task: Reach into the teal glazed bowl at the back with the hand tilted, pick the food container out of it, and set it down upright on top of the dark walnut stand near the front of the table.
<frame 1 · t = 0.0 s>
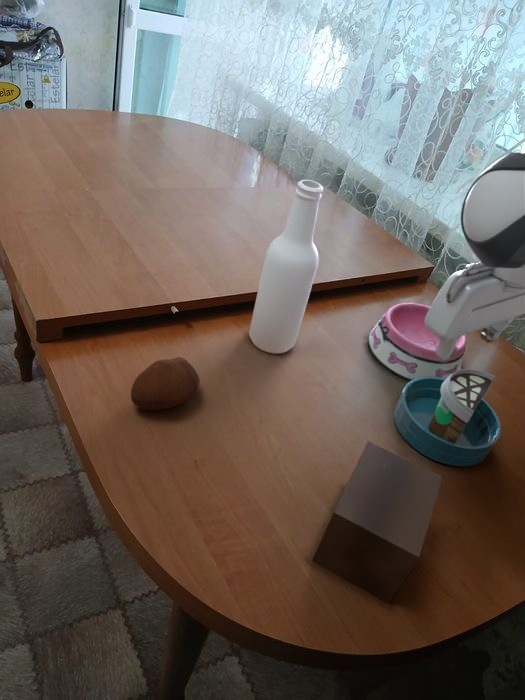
hand: (466, 347, 71), 21 cm above the table, tool pointing down, fingers open, 8 cm apart
stand: (365, 540, 70), on the table
food container: (440, 428, 90), resting on teal bowl
potato: (166, 402, 83), on the table
dog bowl: (413, 354, 106), on the table
alcohol: (271, 340, 100), on the table
teal bowl: (440, 429, 90), on the table
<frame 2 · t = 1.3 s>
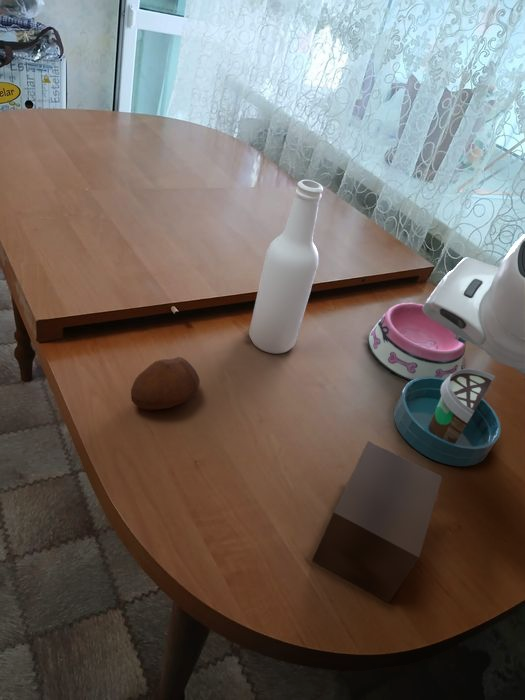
hand: (497, 356, 67), 23 cm above the table, tool tilted 45°, fingers open, 8 cm apart
nothing on the table moved.
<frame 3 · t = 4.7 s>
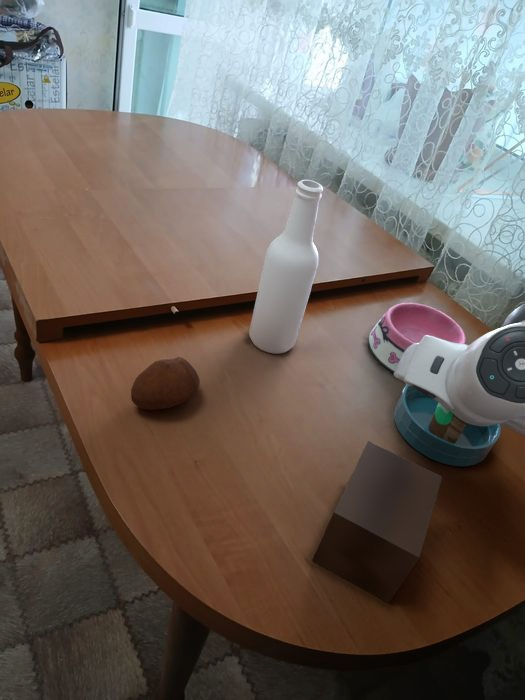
hand: (462, 400, 77), 12 cm above the table, tool tilted 45°, fingers open, 8 cm apart
nothing on the table moved.
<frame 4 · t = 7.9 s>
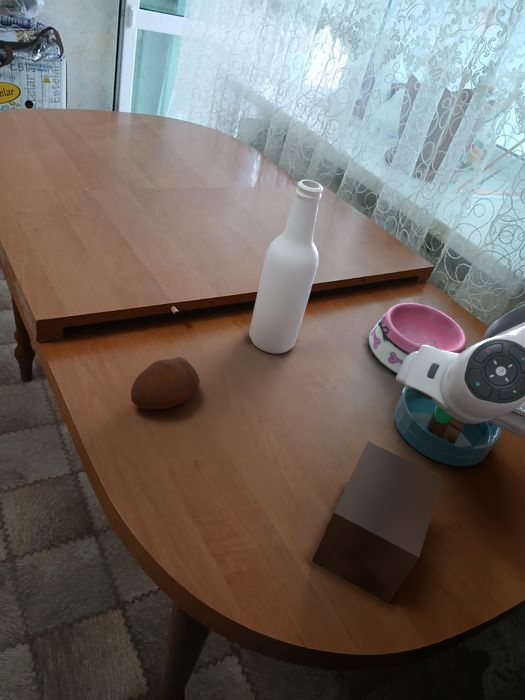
hand: (456, 401, 87), 6 cm above the table, tool tilted 45°, fingers closed on food container, 5 cm apart
food container: (439, 427, 90), resting on teal bowl, touching gripper
everything else where it was.
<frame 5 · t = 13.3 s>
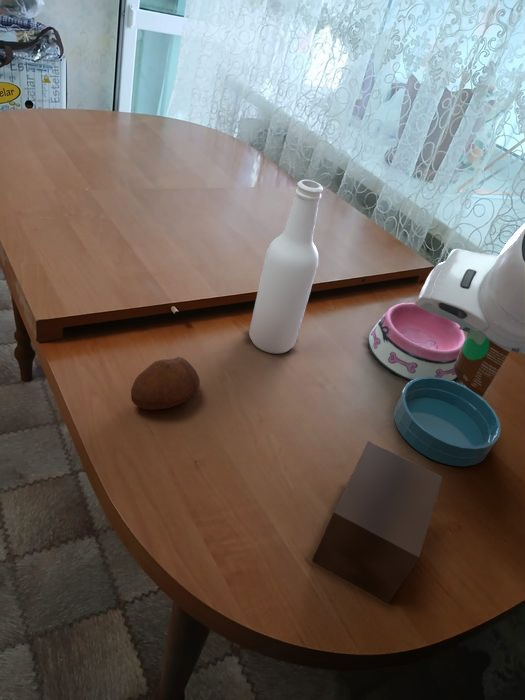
hand: (491, 335, 69), 24 cm above the table, tool tilted 45°, fingers closed on food container, 5 cm apart
food container: (467, 370, 72), point 18 cm above the table, touching gripper
everything else where it was.
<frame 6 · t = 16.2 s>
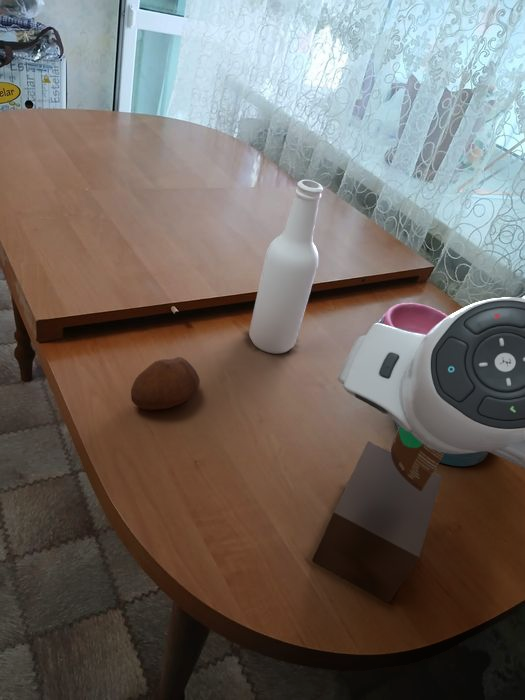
hand: (434, 413, 57), 23 cm above the table, tool tilted 45°, fingers closed on food container, 5 cm apart
food container: (408, 451, 60), point 17 cm above the table, touching gripper
everything else where it was.
when the fingers open (15 cm above the table, at t = 18.7 s): food container stays where it is, resting on stand.
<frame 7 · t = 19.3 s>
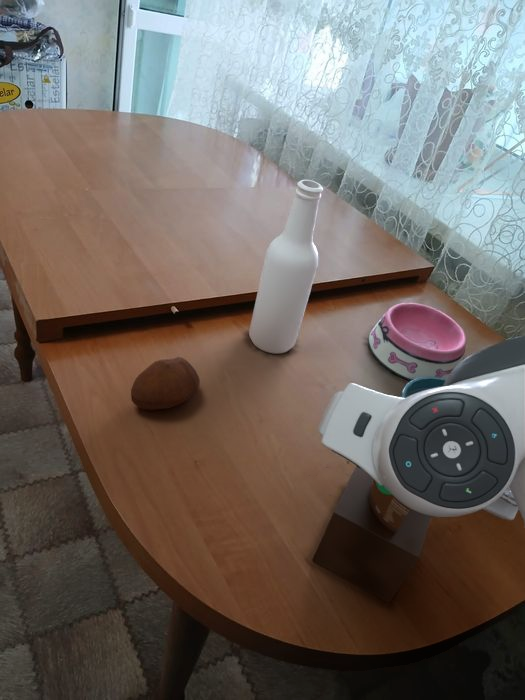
hand: (410, 457, 61), 16 cm above the table, tool tilted 45°, fingers open, 8 cm apart
food container: (385, 492, 64), point 10 cm above the table, touching stand
everything else where it was.
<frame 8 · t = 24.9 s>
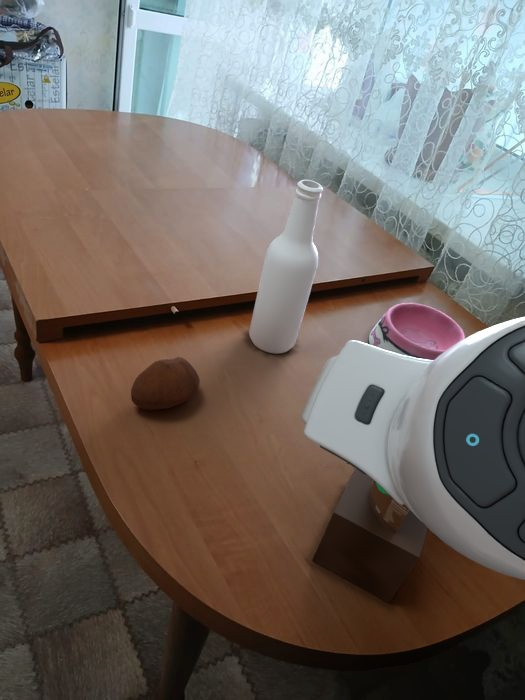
hand: (436, 457, 42), 29 cm above the table, tool tilted 45°, fingers open, 8 cm apart
nothing on the table moved.
at the end: food container inside the target area on the stand (0.6 cm from its centre), point 9.8 cm above the stand's base; food container tilted 0°; food container touching stand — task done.
